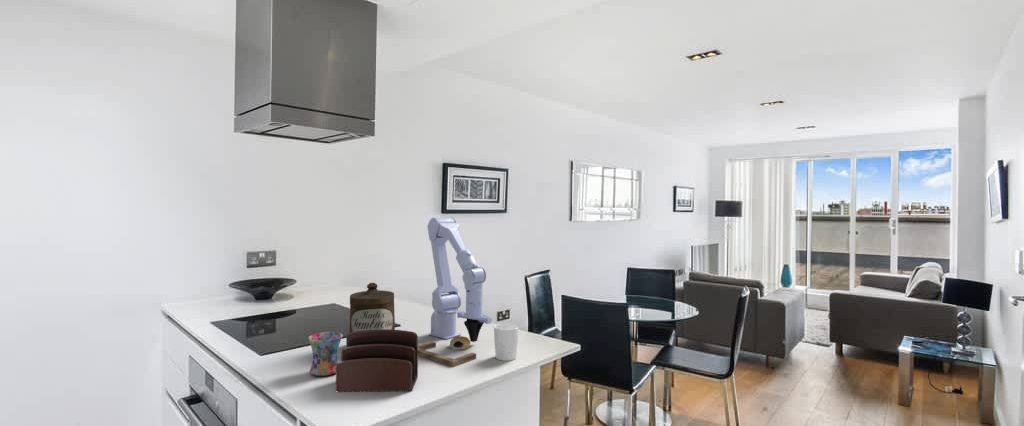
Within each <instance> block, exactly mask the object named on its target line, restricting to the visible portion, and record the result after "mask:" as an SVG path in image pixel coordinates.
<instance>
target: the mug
mask: <svg viewBox="0 0 1024 426" xmlns="http://www.w3.org/2000/svg"><path fill="white" fill-rule="evenodd" d="M343 336H344V335H343V333H341V332H337V331H324V332H317V333H313V334H311V335H309V336H308V338H307V340H308V342H309V345H310V346H311V351H312V362H311V363H312V364H311V367H310V369H309V373H310V374H311V375H313V376H317V377H323V376H330V375H334V374H336V365H337V363H339V362H340V360H339V348H340V343H341V340H342V338H343Z"/></svg>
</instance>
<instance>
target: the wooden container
mask: <svg viewBox="0 0 1024 426" xmlns="http://www.w3.org/2000/svg"><path fill="white" fill-rule="evenodd" d="M366 288H367V290H364V291H363V290H362V291H358V292H353V293H352V294H350V296H349V305H350V307H349V309H350V310H349V333H350V332H356V331H363V330H380V329H387V330H396V327H395V326H396V324H395V323H396V320H395V318H396V317H395V293H394V292H393V291H389V290H379V289H378V284H377V283H375V282H369V283H368V284H367V285H366Z"/></svg>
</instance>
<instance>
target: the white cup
mask: <svg viewBox="0 0 1024 426" xmlns="http://www.w3.org/2000/svg"><path fill="white" fill-rule="evenodd" d="M519 327H520V326H519V325H517V324H513V323H498V324H495V325H494V326H493V332H494V333H493V336H494V337H493V340H494V352H495V359H497V360H498V361H503V362H508V361H514V360H516V359H517V356H518V355H517V354H518V344H519Z"/></svg>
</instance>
